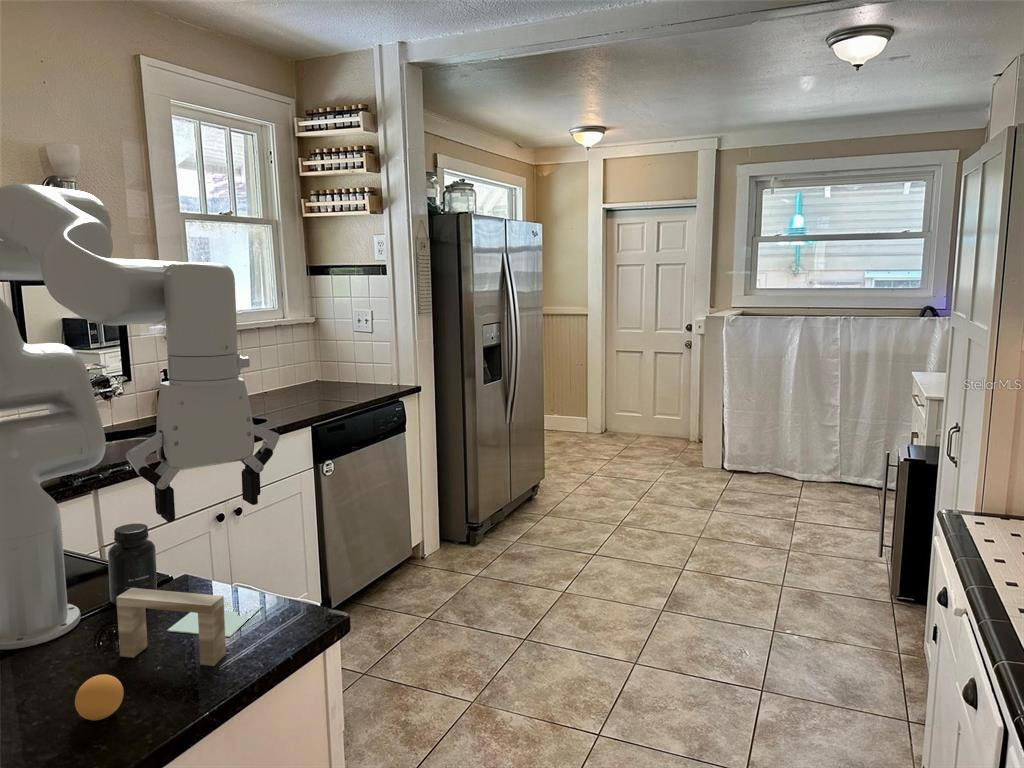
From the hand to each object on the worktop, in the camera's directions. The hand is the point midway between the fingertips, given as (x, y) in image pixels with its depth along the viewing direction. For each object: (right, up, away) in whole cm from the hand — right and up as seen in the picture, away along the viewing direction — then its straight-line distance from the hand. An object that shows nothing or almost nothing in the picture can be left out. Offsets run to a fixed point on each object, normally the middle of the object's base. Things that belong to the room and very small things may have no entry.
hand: (210, 510), depth 84 cm
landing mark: (-9, -21, +24) cm, 33 cm away
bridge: (-11, -23, +13) cm, 28 cm away
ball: (-13, -22, -1) cm, 26 cm away
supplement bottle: (-26, -20, +30) cm, 45 cm away
